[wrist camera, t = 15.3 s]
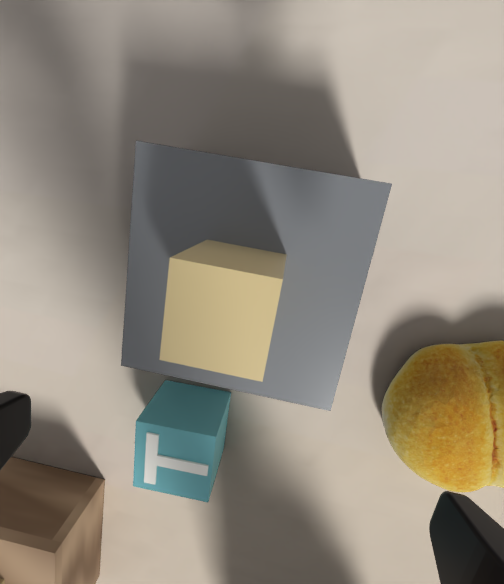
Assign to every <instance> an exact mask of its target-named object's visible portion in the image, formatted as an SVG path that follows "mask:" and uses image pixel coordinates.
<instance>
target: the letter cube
mask: <svg viewBox="0 0 504 584" xmlns="http://www.w3.org/2000/svg"><path fill="white" fill-rule="evenodd" d="M230 397H231V392H227V391H222V390H216V389H211V388H206V387H200V386H195V385H189V384H184V383H179V382H173V381H168V380H165V381H164V383H163V384H162V385H161V387H160V388H159V390H158V391H157V392H156V394H155V395H154V397H153V398H152V399H151V401H150V402H149V404H148V405H147V406H146V408H145V409H144V411H143V412H142V413H141V415H140V416H139V418H138V419H137V420H136V433H135V457H134V480H133V486H135V487H139V488H144V489H149V490H153V491H158V492H163V493H167V494H172V495H176V496H181V497H186V498H190V499H195V500H200V501H204V502H208V501H209V498H210V494H211V491H212V487H213V484H214V480H215V477H216V473H217V470H218V467H219V463H220V460H221V456H222V453H223V449H224V443H225V435H226V427H227V420H228V412H229V404H230Z"/></svg>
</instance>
